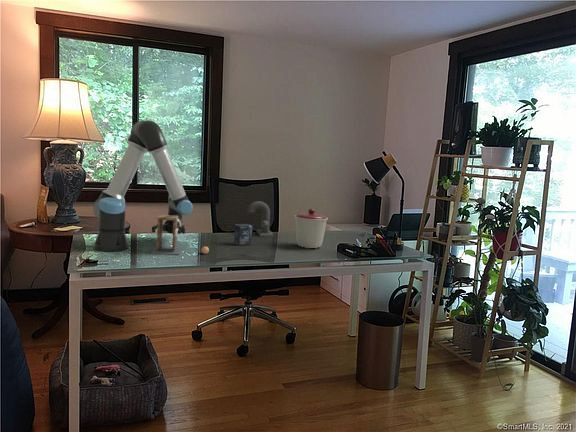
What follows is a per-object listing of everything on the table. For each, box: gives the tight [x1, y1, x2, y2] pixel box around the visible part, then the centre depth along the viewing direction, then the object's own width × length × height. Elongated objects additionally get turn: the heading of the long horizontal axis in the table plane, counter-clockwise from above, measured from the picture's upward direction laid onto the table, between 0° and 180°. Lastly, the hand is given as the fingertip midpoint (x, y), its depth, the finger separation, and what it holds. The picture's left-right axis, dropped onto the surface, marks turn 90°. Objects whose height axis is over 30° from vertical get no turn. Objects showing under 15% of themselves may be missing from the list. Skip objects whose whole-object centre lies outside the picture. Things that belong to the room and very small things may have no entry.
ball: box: [201, 246, 210, 255], centre depth 236 cm, size 4×4×4 cm
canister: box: [294, 207, 329, 249], centre depth 268 cm, size 18×18×21 cm
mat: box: [150, 246, 183, 256], centre depth 236 cm, size 13×13×1 cm
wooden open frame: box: [156, 214, 178, 251], centre depth 234 cm, size 8×8×16 cm
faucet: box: [246, 200, 275, 238], centre depth 297 cm, size 18×16×20 cm
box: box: [233, 223, 253, 246], centre depth 264 cm, size 8×6×11 cm
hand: (166, 233), depth 230 cm, fingers open, 8 cm apart
